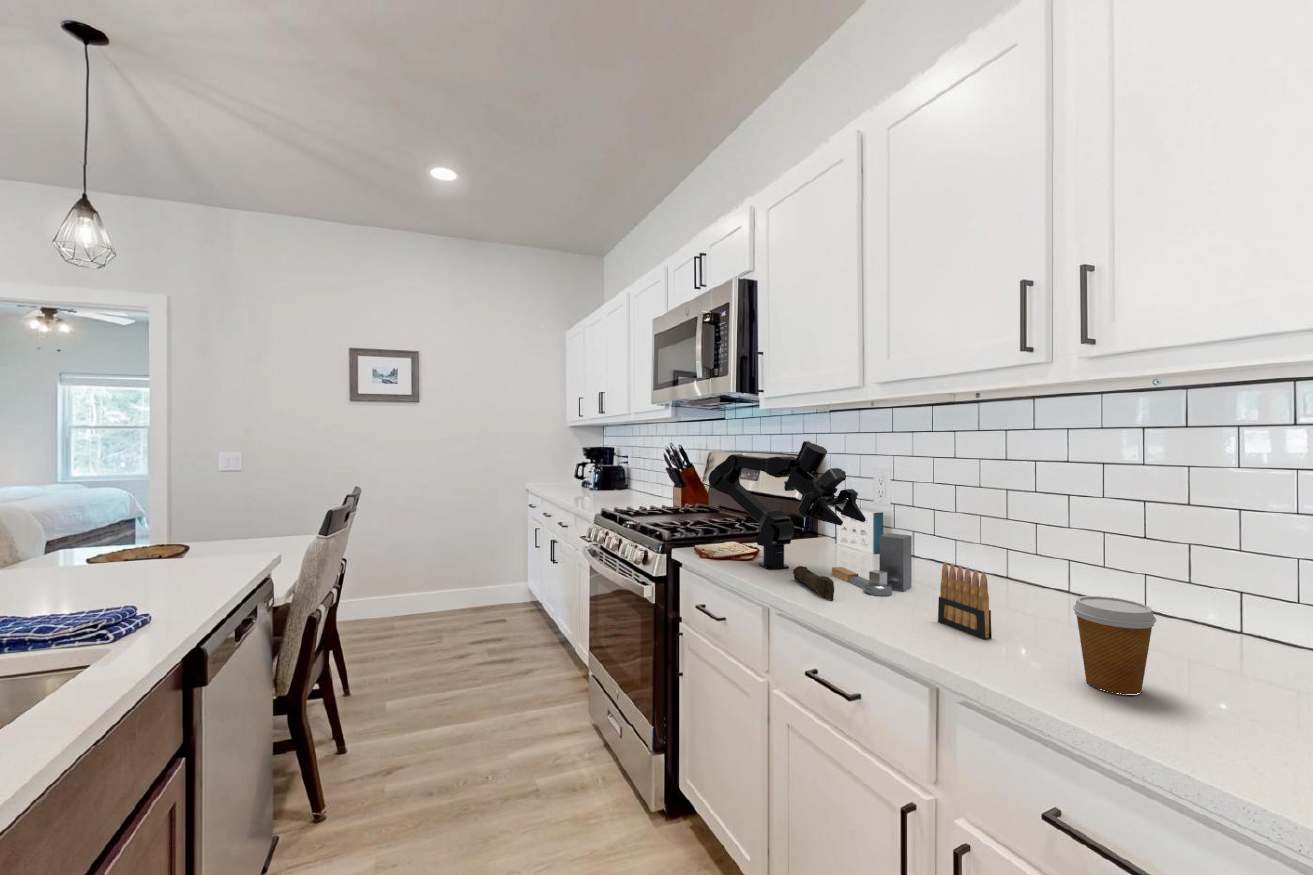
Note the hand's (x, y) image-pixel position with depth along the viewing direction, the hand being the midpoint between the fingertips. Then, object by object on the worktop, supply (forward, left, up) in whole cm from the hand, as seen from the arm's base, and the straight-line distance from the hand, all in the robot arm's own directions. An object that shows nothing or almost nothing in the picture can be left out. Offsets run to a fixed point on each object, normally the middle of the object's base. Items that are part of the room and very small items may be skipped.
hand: (853, 522), depth 141 cm
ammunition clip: (+34, +2, -16) cm, 37 cm away
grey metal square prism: (+4, +9, -16) cm, 18 cm away
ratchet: (-1, +2, -16) cm, 16 cm away
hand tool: (+2, -10, -16) cm, 19 cm away
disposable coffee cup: (+60, +5, -16) cm, 62 cm away
